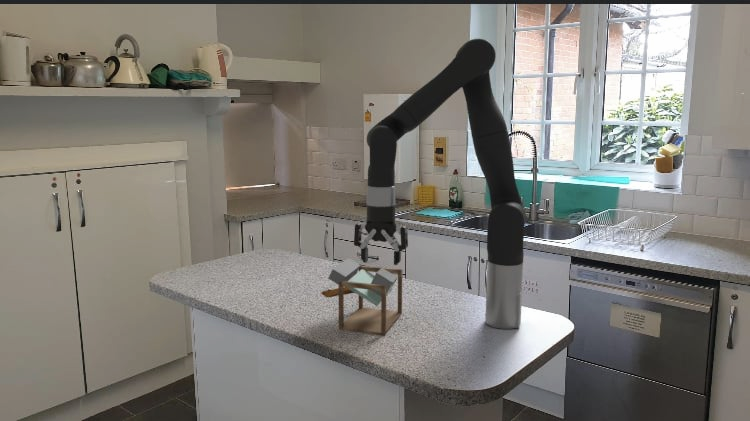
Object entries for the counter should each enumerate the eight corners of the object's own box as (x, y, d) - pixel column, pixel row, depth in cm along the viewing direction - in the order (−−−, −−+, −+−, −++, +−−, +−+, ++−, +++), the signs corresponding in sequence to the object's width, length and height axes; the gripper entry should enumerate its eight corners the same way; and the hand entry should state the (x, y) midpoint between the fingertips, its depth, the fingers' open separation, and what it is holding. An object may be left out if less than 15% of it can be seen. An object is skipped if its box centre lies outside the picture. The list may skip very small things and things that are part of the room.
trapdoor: (390, 293, 162) (395, 284, 161) (375, 309, 149) (380, 299, 148) (345, 265, 165) (349, 257, 164) (326, 279, 152) (331, 270, 151)
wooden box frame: (401, 313, 163) (402, 269, 161) (384, 335, 148) (385, 286, 146) (359, 309, 167) (359, 265, 165) (338, 329, 152) (338, 281, 149)
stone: (389, 292, 157) (397, 277, 156) (384, 298, 153) (392, 282, 151) (374, 282, 158) (382, 267, 157) (368, 288, 153) (376, 272, 152)
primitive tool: (327, 298, 177) (326, 287, 177) (320, 294, 182) (320, 283, 182) (382, 290, 186) (382, 279, 186) (374, 285, 191) (374, 275, 190)
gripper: (411, 202, 152) (410, 261, 155) (359, 199, 157) (360, 257, 159) (403, 206, 145) (402, 269, 148) (350, 203, 150) (350, 264, 152)
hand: (380, 263), depth 154 cm, fingers open, 8 cm apart
